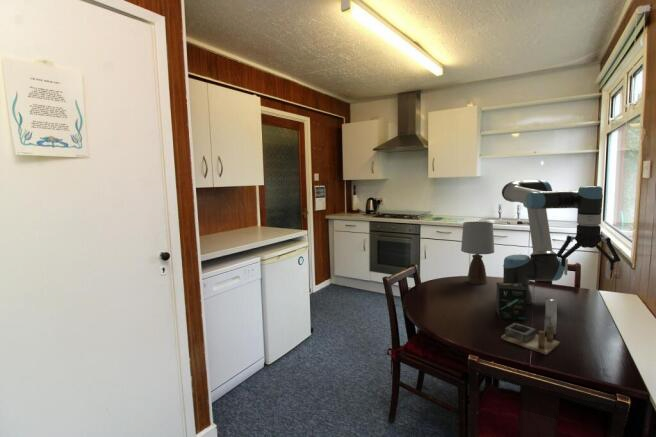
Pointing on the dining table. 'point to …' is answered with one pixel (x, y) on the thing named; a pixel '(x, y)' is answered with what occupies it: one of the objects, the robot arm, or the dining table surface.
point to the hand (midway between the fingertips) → (586, 276)
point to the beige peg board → (531, 338)
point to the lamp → (477, 248)
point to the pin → (550, 314)
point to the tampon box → (511, 301)
